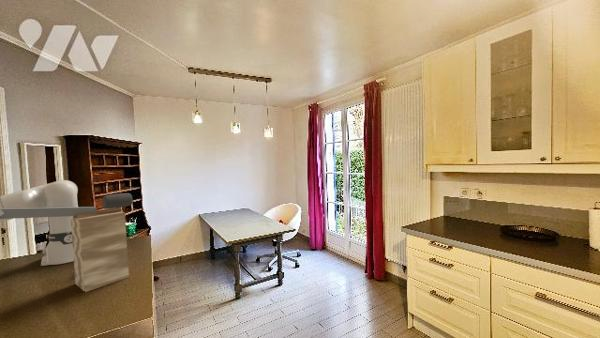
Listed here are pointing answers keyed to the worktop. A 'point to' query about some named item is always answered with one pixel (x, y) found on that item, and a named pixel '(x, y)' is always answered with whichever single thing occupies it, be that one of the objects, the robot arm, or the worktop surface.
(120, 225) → the tan streaked block
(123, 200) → the rubber mallet
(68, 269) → the worktop surface
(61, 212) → the grey bar
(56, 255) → the robot arm
